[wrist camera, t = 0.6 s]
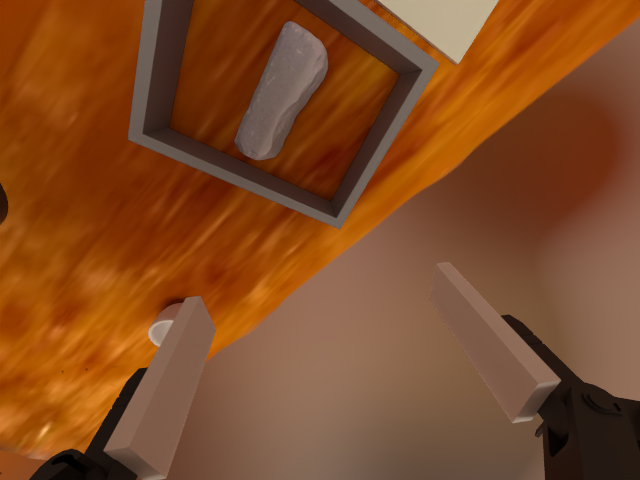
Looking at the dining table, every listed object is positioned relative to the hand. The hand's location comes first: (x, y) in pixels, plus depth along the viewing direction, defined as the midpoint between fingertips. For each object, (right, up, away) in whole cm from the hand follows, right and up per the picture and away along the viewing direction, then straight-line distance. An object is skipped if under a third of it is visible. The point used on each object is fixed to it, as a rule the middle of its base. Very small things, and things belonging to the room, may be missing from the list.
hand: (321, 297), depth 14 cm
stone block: (-5, +20, +16) cm, 26 cm away
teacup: (-26, -11, +32) cm, 43 cm away
